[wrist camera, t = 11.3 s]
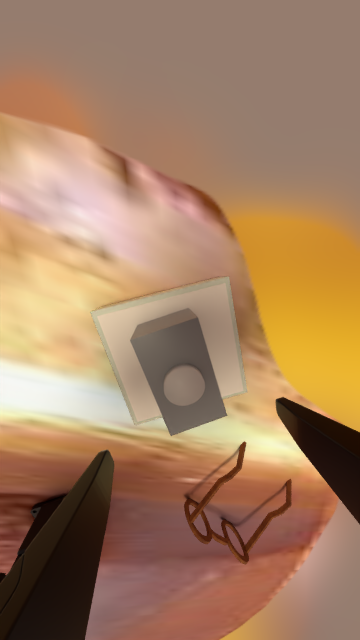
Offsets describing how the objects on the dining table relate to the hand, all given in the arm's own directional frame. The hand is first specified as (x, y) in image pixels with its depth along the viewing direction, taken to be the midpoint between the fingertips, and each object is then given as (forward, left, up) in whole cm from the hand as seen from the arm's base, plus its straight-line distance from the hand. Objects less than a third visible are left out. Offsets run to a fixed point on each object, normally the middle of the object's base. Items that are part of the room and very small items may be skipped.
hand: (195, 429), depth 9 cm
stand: (0, 0, -11) cm, 11 cm away
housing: (0, 0, -8) cm, 8 cm away
